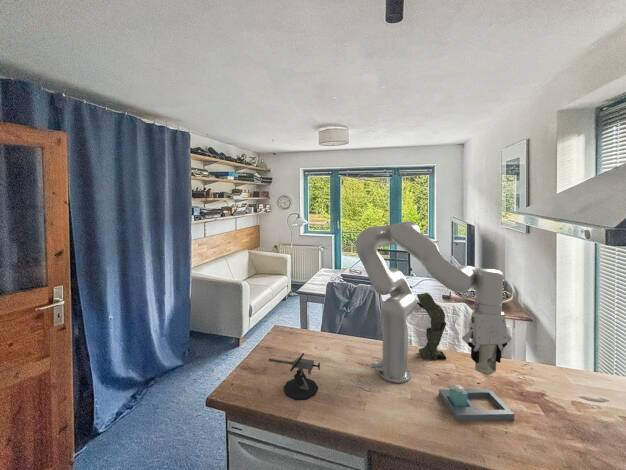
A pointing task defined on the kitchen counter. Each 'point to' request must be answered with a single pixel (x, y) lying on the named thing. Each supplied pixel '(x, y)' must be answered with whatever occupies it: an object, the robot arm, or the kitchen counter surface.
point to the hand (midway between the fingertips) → (485, 360)
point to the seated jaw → (458, 396)
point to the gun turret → (300, 379)
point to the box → (487, 359)
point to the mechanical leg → (432, 327)
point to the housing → (471, 412)
